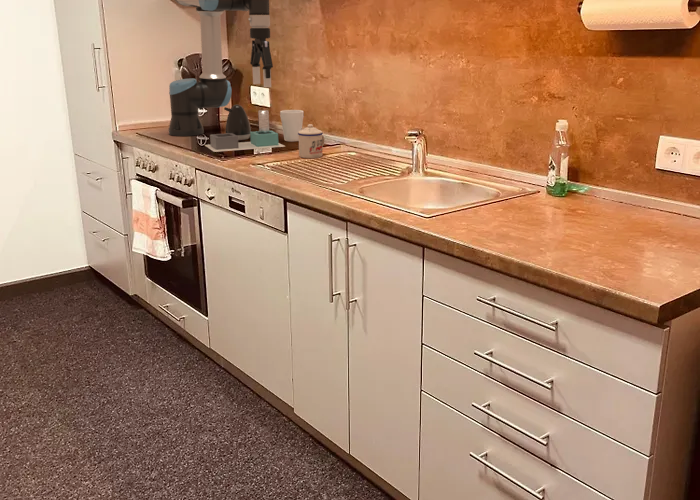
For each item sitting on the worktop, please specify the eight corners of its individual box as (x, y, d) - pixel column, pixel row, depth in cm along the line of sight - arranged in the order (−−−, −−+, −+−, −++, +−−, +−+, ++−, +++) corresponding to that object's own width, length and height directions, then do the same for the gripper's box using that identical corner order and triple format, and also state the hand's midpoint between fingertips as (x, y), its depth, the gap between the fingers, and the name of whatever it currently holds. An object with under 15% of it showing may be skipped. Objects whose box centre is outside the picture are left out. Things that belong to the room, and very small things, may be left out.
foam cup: (282, 146, 277) (281, 113, 273) (279, 142, 286) (278, 110, 282) (306, 145, 279) (305, 112, 275) (302, 141, 288) (301, 109, 284)
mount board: (204, 148, 271) (203, 133, 269) (272, 143, 282) (272, 128, 280) (214, 155, 257) (213, 139, 255) (285, 150, 268) (285, 134, 266)
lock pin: (258, 143, 273) (256, 110, 269) (267, 143, 275) (266, 109, 271) (261, 145, 270) (260, 111, 266) (271, 144, 271) (270, 111, 267)
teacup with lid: (311, 159, 250) (311, 127, 247) (293, 156, 256) (292, 124, 252) (333, 154, 259) (332, 123, 256) (314, 152, 265) (314, 121, 261)
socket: (250, 143, 274) (250, 131, 273) (271, 141, 278) (271, 130, 276) (257, 146, 267) (256, 135, 266) (278, 145, 270) (278, 133, 269)
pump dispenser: (222, 141, 289) (220, 104, 284) (247, 139, 293) (245, 102, 288) (229, 144, 280) (227, 106, 275) (254, 143, 284) (252, 105, 279)
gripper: (240, 26, 268) (243, 83, 275) (260, 28, 246) (262, 89, 253) (259, 26, 271) (261, 82, 278) (280, 27, 249) (282, 88, 256)
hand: (262, 85), depth 265 cm, fingers open, 13 cm apart
